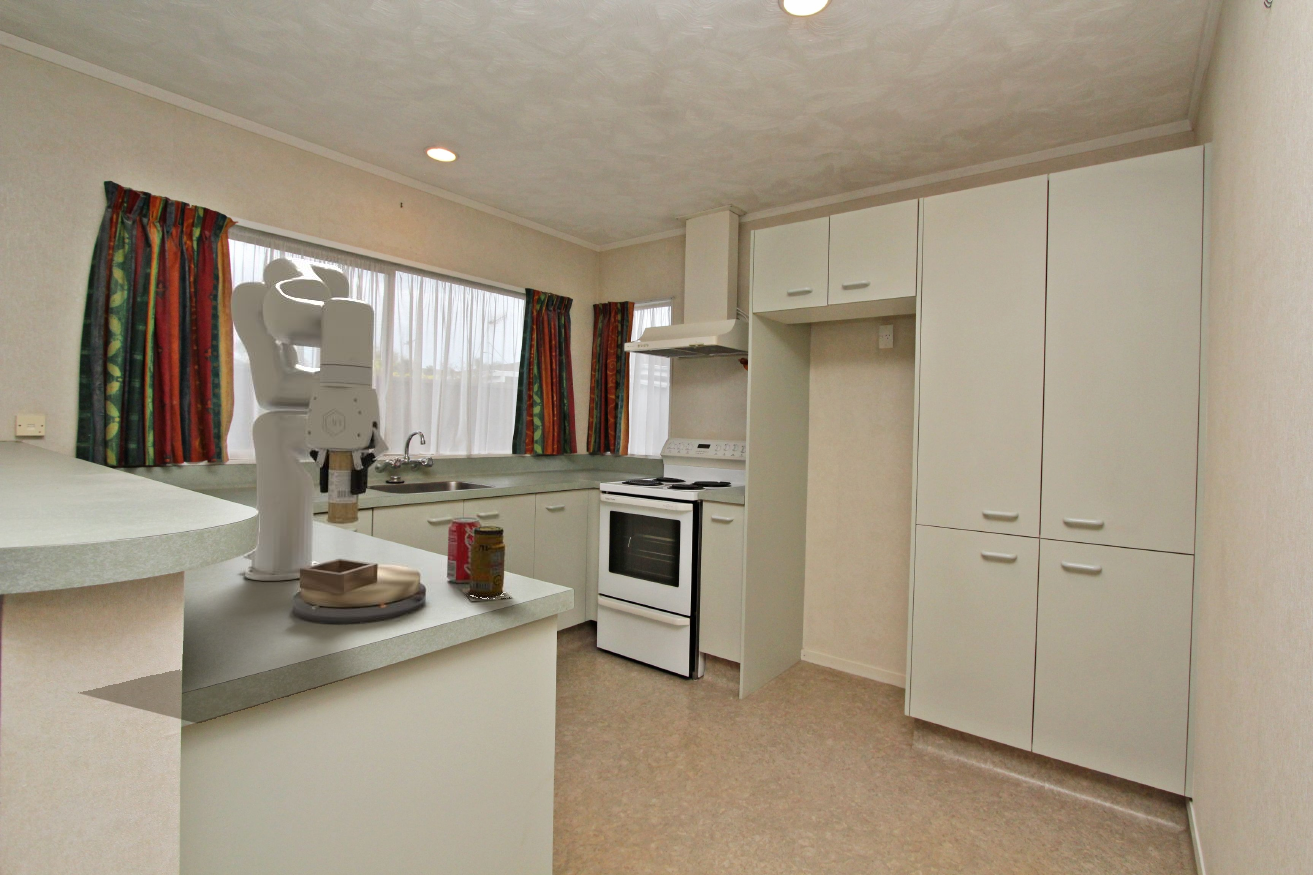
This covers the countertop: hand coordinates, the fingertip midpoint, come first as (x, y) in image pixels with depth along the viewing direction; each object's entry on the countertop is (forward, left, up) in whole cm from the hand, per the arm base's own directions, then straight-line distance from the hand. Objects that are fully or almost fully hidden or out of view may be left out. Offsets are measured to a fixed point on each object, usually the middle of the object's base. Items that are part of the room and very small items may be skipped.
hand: (343, 491), depth 98 cm
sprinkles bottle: (0, 0, -5) cm, 5 cm away
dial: (0, +5, -17) cm, 18 cm away
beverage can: (+6, +25, -20) cm, 32 cm away
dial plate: (0, +5, -19) cm, 20 cm away
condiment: (+15, +19, -20) cm, 31 cm away
